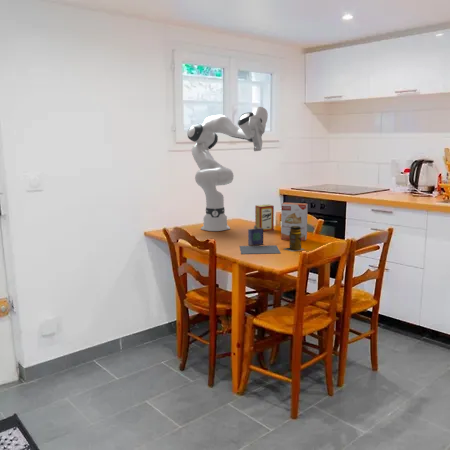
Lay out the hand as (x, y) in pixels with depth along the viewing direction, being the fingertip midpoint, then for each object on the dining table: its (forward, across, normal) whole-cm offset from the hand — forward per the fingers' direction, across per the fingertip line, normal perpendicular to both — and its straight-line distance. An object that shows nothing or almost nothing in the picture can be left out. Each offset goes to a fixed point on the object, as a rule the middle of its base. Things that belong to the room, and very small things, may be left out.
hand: (253, 144), depth 266 cm
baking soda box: (+17, -57, -1) cm, 60 cm away
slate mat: (+57, -23, +8) cm, 62 cm away
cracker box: (+35, -43, +21) cm, 59 cm away
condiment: (+53, -27, +25) cm, 65 cm away
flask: (+49, -29, +4) cm, 57 cm away
